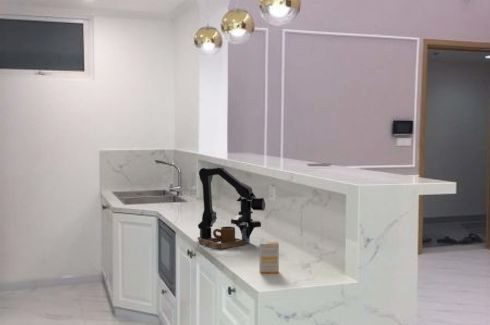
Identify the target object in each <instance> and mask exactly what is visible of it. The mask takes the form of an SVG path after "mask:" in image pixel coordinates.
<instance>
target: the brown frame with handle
mask: <svg viewBox="0 0 490 325" xmlns="http://www.w3.org/2000/svg"><path fill="white" fill-rule="evenodd" d="M250 237H251V236H250ZM250 237H249V239H247V235H246V228H244V229H242V234H241V238H237V237H235V241H231V242H225V243H221V242H220V243H219V241H221V240H220V239H219V238H215V237H212V238H210V239H201V238H199V239H198V244H199V245H200V244H201V245H204V246H208V247H211V248H216V249H220V250H222V249H228V248H233V247H239V246H243V245H244V244H246V243H250V242H251V240H250V239H251V238H250ZM217 241H218V242H217Z"/></svg>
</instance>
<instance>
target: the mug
mask: <svg viewBox="0 0 490 325" xmlns="http://www.w3.org/2000/svg"><path fill="white" fill-rule="evenodd" d="M217 232H218V233H220V234H217ZM212 235H213V238H219V239H220V240H219V241H220V243H225V242H231V241H235V238H236V228H235V227H234V226H222V227H220V228H214V229H213V231H212Z"/></svg>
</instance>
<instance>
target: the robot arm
mask: <svg viewBox="0 0 490 325" xmlns="http://www.w3.org/2000/svg"><path fill="white" fill-rule="evenodd" d="M216 175H217V176H219V177H220V178H222V179H223V180H224V181H225V182H226V183H228V184H229V185H231V186H232V187H233V188H234V189H235V191H236V193H237V194H238V195H239V198H238V199H236V202H240V211H238V214H237V215H235V216H233V217H231V220H230V224H232V225H235V226H236V227H237V228H239V230H240V233H241V235H242V229H244V228H246V235H247V239H249V237H251V235H252V232H253V231H254V229H255V228H261V227H262V222H261V221H259V220H253V218H252V215H253V213H254V212H253V211H262V212H263V211H265V210H266V201H265V197H257V196H256V195H255V194H254V192H253V188H252V186H249V185H248V184H245V183H243V182H241V181H240V180H239V179H237V178H236V177H235V176H234V175H233V174H232V173H230V172H228V171H227V169H225V167H223V166H219V167H214V168H211V167H209V166H208V167H207V166H206V167H202V168H200V170H199V171H198V176H199V180H200V182H201V184H202V197H203V200H202V201H203V212H202V215H201V216H202V217H201V221H200V223H199V222H198V224H197V227H198V229H199V236H198V237H197V239H198V240H199V238H201V239H210V238H213V237H212V227H213V226H214V224H215V223H216V221H217V219H218V217H217V211H215V210H214V209H213V200H212V199H213V198H212V181H213V176H216ZM252 210H253V211H252Z"/></svg>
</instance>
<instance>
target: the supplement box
mask: <svg viewBox="0 0 490 325" xmlns="http://www.w3.org/2000/svg"><path fill="white" fill-rule="evenodd" d="M279 248H280V244H279V242H278V240H277V241H259V249H258V251H259V254H258V255H259V264H258V265H259V267H258V268H259V273H260V274H279V273H280V272H279V270H280V268H279V267H280V264H279V263H280V262H279V261H280V260H279V259H280V257H279V256H280V253H279V252H280V251H279V250H280V249H279Z"/></svg>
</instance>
